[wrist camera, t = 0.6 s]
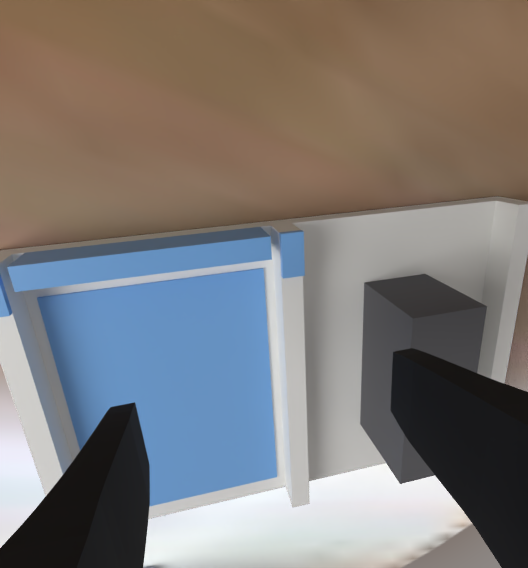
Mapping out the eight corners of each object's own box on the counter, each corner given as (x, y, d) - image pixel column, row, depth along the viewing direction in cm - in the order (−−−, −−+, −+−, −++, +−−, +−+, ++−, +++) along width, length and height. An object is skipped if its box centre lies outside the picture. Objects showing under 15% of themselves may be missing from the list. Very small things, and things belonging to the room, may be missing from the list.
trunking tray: (464, 431, 28) (497, 464, 25) (78, 520, 23) (66, 572, 20) (497, 196, 22) (545, 204, 19) (-6, 250, 17) (-39, 272, 15)
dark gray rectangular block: (413, 412, 25) (463, 468, 20) (360, 423, 24) (400, 483, 20) (425, 273, 21) (487, 306, 17) (364, 282, 21) (413, 318, 17)
